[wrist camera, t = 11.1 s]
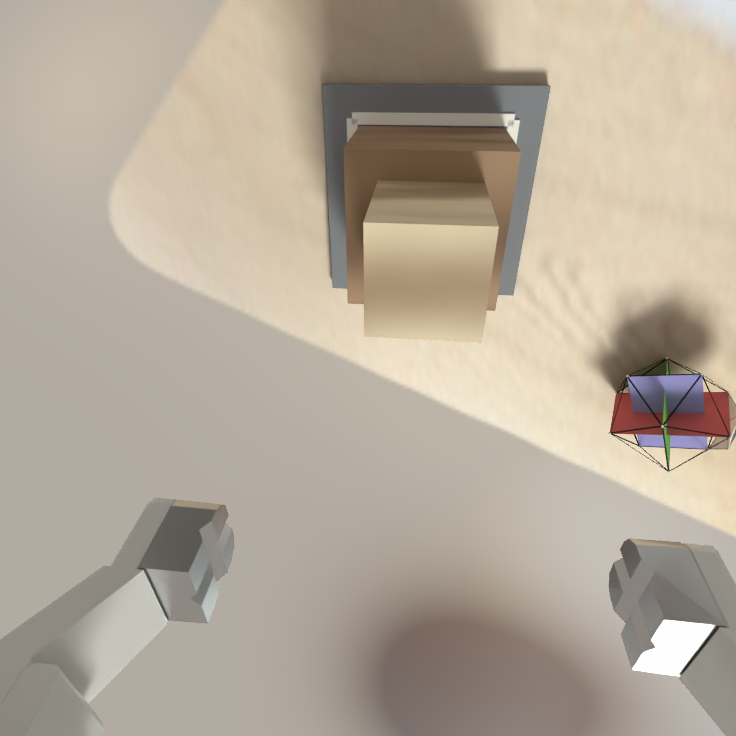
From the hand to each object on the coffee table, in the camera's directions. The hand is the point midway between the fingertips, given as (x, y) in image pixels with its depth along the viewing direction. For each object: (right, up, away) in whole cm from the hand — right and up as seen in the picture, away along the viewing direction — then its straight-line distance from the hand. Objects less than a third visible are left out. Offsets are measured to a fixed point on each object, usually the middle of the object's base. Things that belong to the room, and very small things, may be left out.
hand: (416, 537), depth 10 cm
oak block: (+2, +10, +14) cm, 18 cm away
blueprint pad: (+3, +14, +20) cm, 24 cm away
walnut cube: (+3, +14, +19) cm, 24 cm away
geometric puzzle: (+20, +2, +26) cm, 33 cm away
